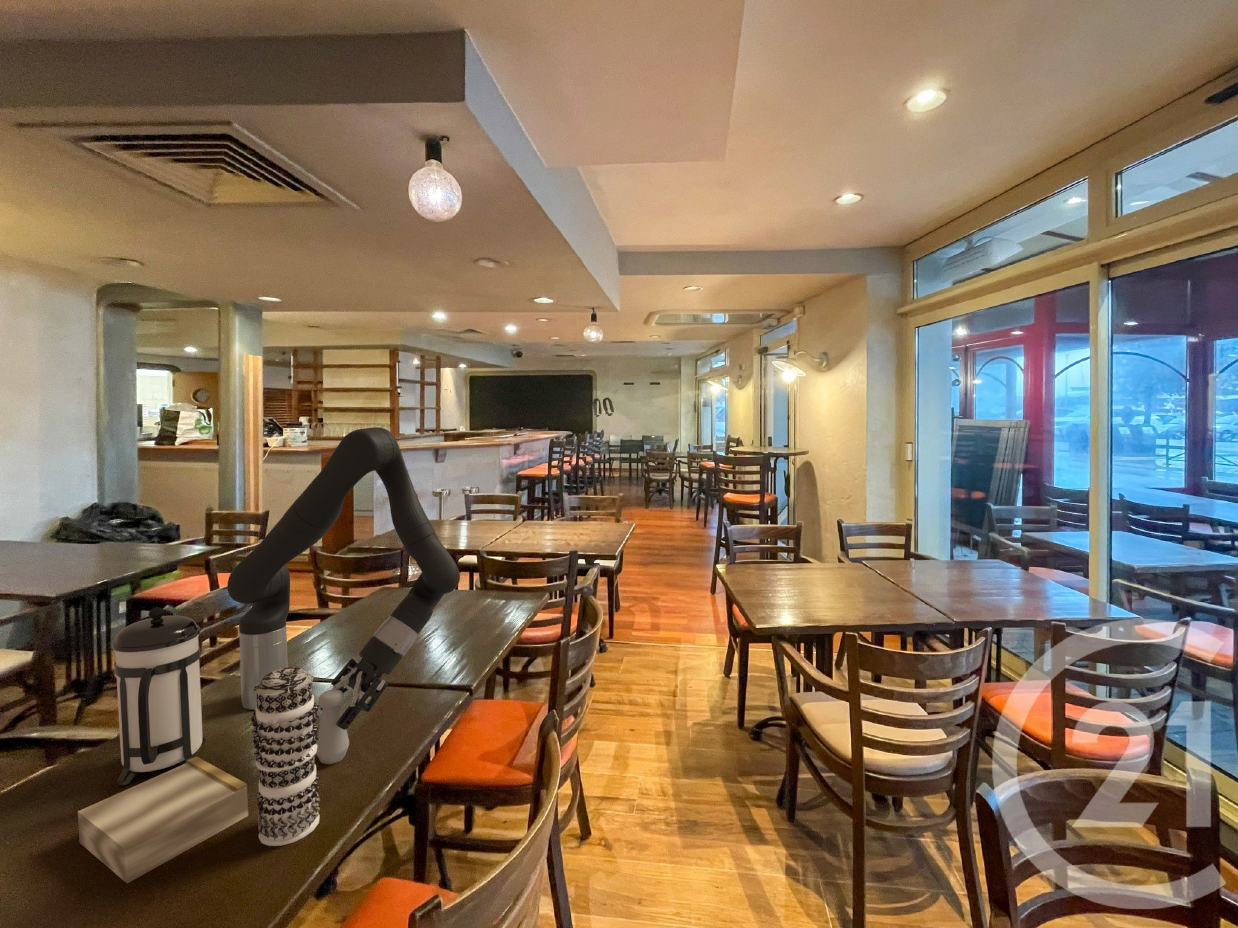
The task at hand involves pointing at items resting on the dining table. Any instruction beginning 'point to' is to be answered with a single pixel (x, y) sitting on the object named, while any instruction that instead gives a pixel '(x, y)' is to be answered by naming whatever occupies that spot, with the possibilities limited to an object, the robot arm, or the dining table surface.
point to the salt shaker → (331, 728)
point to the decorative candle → (286, 756)
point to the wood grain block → (162, 817)
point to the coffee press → (158, 693)
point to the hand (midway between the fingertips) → (331, 719)
